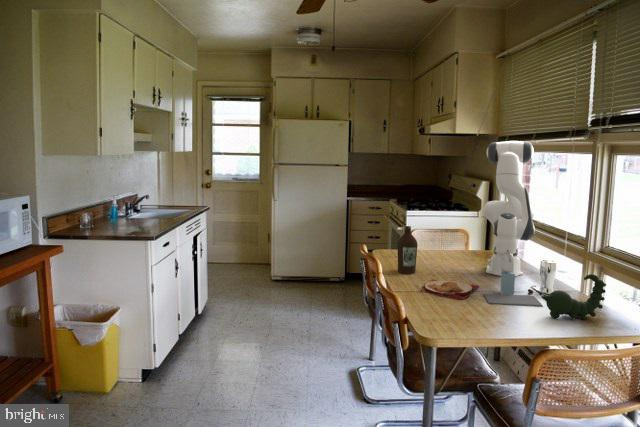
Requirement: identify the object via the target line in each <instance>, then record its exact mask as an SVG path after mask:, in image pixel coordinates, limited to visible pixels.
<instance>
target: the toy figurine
mask: <svg viewBox="0 0 640 427" xmlns="http://www.w3.org/2000/svg"><path fill="white" fill-rule="evenodd" d="M589 279H590V280H591V281H592V282H594V283H593V284H594V286H592V289H591V291H592V292H590V294H589V297H588V298H587V299H586V301H582V300H581V301H578V300H577V299H575V298H573V297H572V296H571V295H570V294H569V293H567V292H566V291H564V290H558V289H557V290H553V292H551V293H550V294H547V295H542V296H540V298H541V299H542V300H544V301H545V303H546V307H547V309H548V310H549V315H550V317H551V318H552V319H555V320H556V319H559V318H560V317H561V315H565V316H568V317H569V318H570V319H572V320H575V319H577V318H580V319H581V320H583V321H585V320H587V315H589V316H590V317H591V318H595V317H596V316H597V314H596V312H595V310H596V309H603V308H604V306H603V305H602V304H601V303H600V301H602V302H603V301H605V299H606V298H605V297H604V296H603V295H602V294H606V293H607V292H606V289H604V287H607V283H605V281H604V280H602V279H599V277H598V275H596V274H594V273H589V274H587V275H585V276H584V277H583V280H584V281H586V280H589Z"/></svg>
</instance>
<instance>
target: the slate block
mask: <svg viewBox="0 0 640 427" xmlns="http://www.w3.org/2000/svg"><path fill="white" fill-rule="evenodd" d="M515 282H516V276H515V274H514V273H513V272H505V271H501V276H500V285H499V286H500V289H499V292H500V293H499V294H509V295H515V284H516V283H515Z"/></svg>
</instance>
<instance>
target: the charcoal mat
mask: <svg viewBox="0 0 640 427" xmlns="http://www.w3.org/2000/svg"><path fill="white" fill-rule="evenodd" d="M483 296H484V298H485V300H486V301H487V303H488V304H489V305H504V306H505V305H506V306H525V307H541V308H542V307H544V306H543V303H541V302H540V301H539V300H538V298H537V297H536V296H535V295H526V294H514V295H509V294H501V293H486V292H484V293H483Z"/></svg>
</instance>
